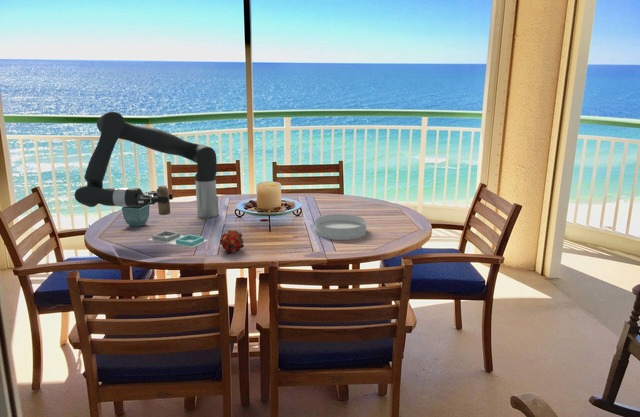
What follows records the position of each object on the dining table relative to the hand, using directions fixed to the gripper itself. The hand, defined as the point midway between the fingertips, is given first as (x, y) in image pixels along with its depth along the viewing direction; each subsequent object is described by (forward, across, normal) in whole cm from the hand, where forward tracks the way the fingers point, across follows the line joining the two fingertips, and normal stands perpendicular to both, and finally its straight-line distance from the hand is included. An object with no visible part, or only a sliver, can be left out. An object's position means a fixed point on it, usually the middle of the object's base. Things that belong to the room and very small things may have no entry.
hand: (170, 198), depth 192 cm
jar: (-3, 0, +6) cm, 7 cm away
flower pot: (-24, +20, +18) cm, 35 cm away
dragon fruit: (+27, -10, +18) cm, 34 cm away
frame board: (+3, -2, +18) cm, 18 cm away
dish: (+67, +18, +18) cm, 71 cm away
